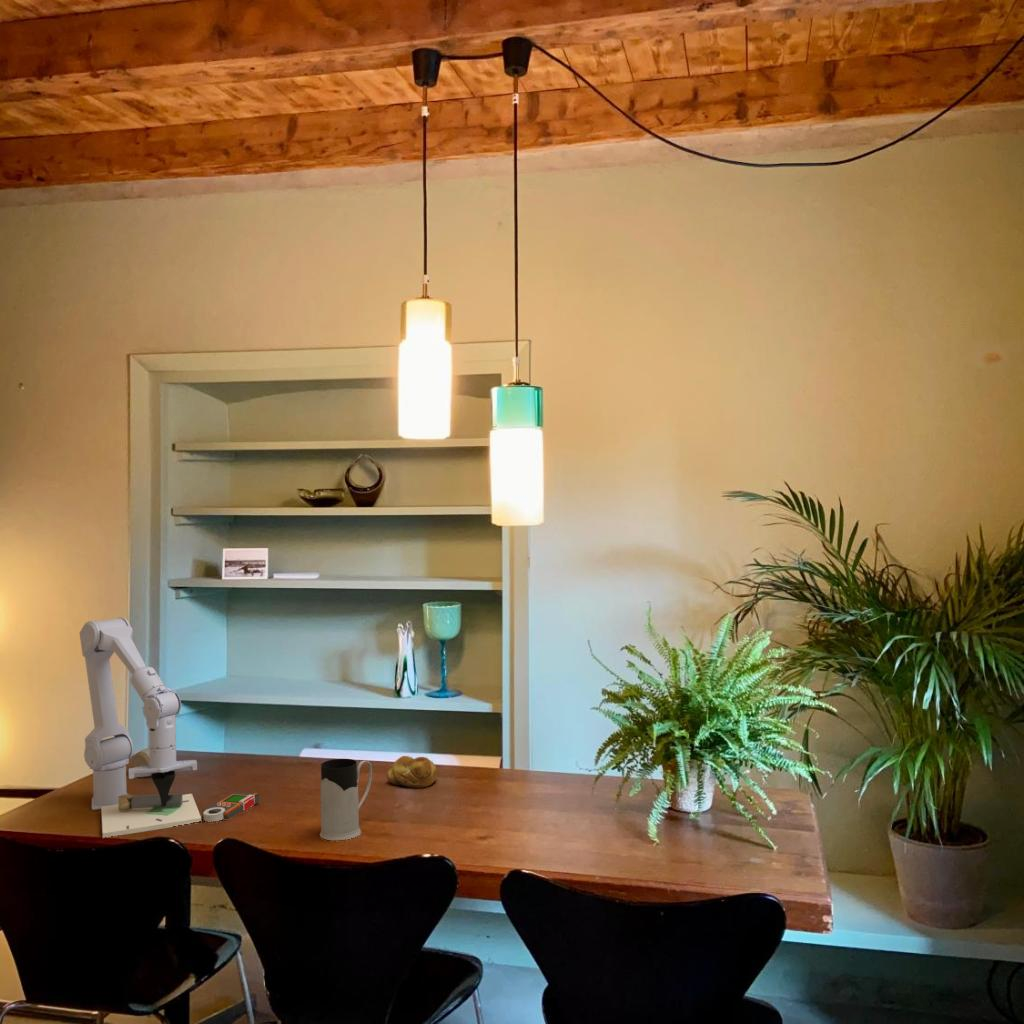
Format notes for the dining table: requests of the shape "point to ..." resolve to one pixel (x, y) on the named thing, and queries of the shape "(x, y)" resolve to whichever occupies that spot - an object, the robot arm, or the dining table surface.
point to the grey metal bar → (147, 801)
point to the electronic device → (230, 806)
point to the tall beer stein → (341, 798)
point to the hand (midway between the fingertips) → (163, 805)
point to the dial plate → (148, 817)
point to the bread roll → (412, 772)
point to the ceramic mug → (141, 759)
